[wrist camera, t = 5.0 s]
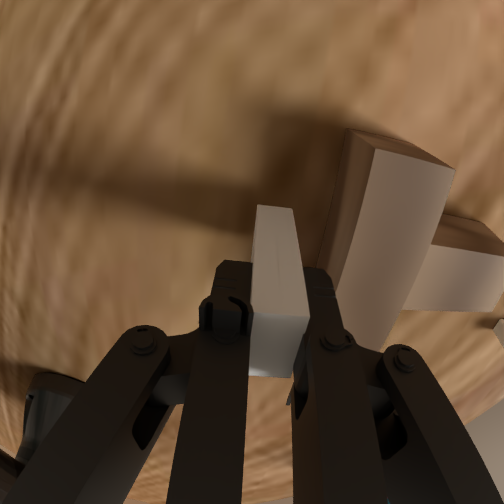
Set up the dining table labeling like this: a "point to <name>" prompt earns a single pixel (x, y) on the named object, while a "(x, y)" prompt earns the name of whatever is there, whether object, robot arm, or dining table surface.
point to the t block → (402, 240)
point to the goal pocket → (500, 331)
